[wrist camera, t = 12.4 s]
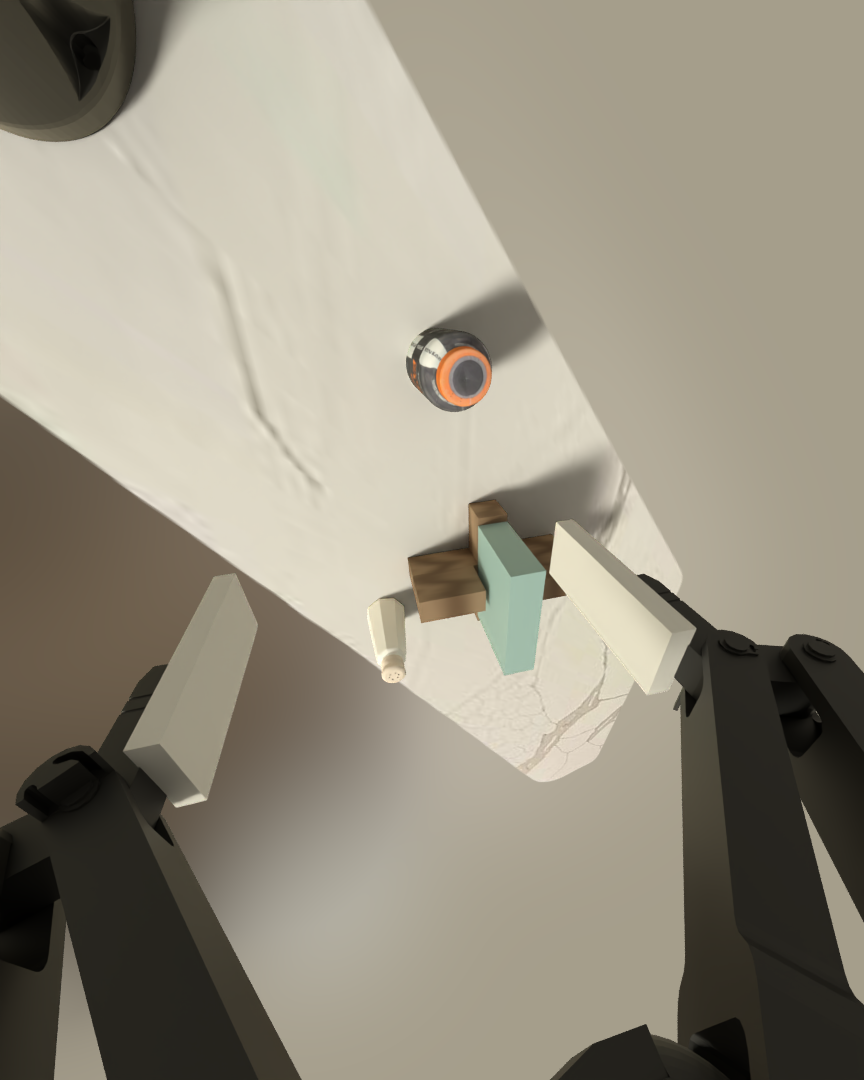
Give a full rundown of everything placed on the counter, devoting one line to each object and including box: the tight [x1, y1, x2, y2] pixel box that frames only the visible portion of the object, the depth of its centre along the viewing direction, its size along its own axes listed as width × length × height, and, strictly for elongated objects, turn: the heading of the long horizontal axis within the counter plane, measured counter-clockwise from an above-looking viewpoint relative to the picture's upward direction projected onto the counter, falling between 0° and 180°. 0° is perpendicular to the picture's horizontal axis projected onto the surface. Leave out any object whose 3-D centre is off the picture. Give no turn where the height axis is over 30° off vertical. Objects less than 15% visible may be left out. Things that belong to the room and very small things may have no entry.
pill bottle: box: [406, 328, 492, 412], centre depth 31 cm, size 6×6×11 cm
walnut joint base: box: [408, 500, 566, 623], centre depth 45 cm, size 20×16×9 cm
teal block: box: [478, 521, 546, 675], centre depth 42 cm, size 14×4×10 cm, turn 3°
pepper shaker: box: [368, 598, 406, 683], centre depth 46 cm, size 5×5×11 cm
